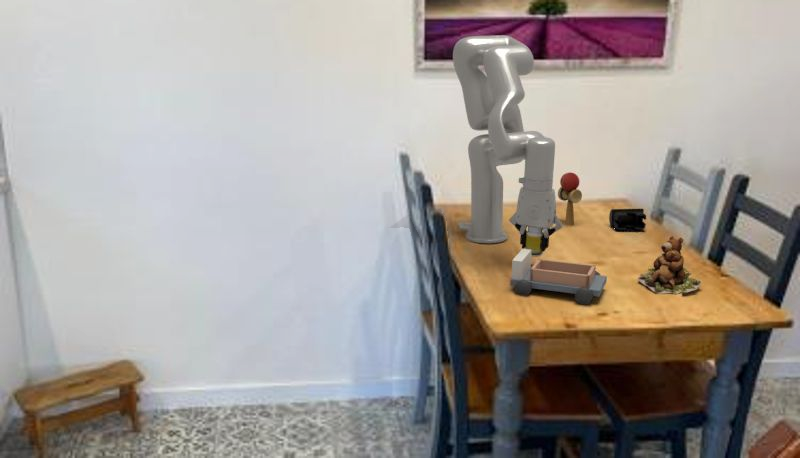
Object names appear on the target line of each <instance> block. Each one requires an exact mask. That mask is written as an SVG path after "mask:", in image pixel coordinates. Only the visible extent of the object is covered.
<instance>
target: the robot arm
mask: <svg viewBox="0 0 800 458" xmlns="http://www.w3.org/2000/svg"><path fill="white" fill-rule="evenodd" d="M534 59H535V58H534V55H533V53H532V51H531V49H530V48H529V47H528V46H527V45H525V44H524V43H523V42H521V41H519V40H517V39H515V38H514V37H511V36H509V35H504V34H502V35H501V34H500V35H499V34H498V35H473V36H467V37H463V38H461V39H459V40H458V41H456V43H455V45H454V47H453V51H452V63H453V68H454V71H455V74H456V76H457V78H458V81H459V83H460V86H461V91H462V97H463V101H464V106H465V113H466V117H467V121H468V125H469V128H471V129H472V130H474V131H478V132H479V131H480V132H483V131H487V132H488V133H486V134H480V135H477V136H475V137H473V138H472V139H471V140H470V141H469V143H468V145H467V146H468V147H467V152H468V153H467V154H468V160H469V164H470V165H469V166H470V179H471V181H470V185H471V187H470V190H471V191H470V192H471V193H470V197H471V198H470V199H471V200H470V201H471V202H470V221H468V222H465V221H458V224H457V227H458V228H459V230H463V231H464V230H465V231H467V232H466V233H465V239H467V240H468V241H470V242H474V243H476V244H477V243H479V244H497V243H498V244H499V243H501V242H504V241H506V240H507V239H508V233H507V231H504V230H503V219H504V216H503V214H504V209H503V208H504V179H503V176H502V175H501V173H500V172H499V171H498V169H497V167H499V166H500V167H501V166H509V165H515V164H520V163H522V161H524V175H523V177H519V178H518V183H519V184H520V183H521V184H522V186H521V188H520V189H519V193H518V198H517V202H516V203H517V204H516V210H515V211H516V212H515V213H514V214H513V215H512V216H511V217H510V218H509V220H508V221H509V223H510V224H512V225H513V226H514V228H515V229H516V230H517V231H518V233H519V235H520V237H519V238H520V240H519V241H520V242H519V243H520V245H521V250H522V249H525V246H526V233H527V231H528V226H530V227H538V228H543V231H542V232H543V233H544V236H543V238H542V248H541V251H543V252H545V251H546V249H548V248H549V247H550V246H549V245H550V236H551V235H553V234H554V233H555V232H558V231H559V230H561V229H562V228H563V227H564V225H563V223H562V222H561V220H560V218H559V217H558V216H557V201H556V192H555V189H554V188H553V185H554V184H553V183H554V170H555V169H554V168H555V155H556V154H555V153H556V142H555V141H554V139H552V138H550V137H546V136H544V135H543V134H542V133H541V132H539V131H537V130H536V131H535V130H529V131H527V130H526V131H525V129H524V123H523V120H522V114H521V110H520V106H519V104H520V103H521V102H522V101H523V100H524V98H525V95H526V92H525V90H524V87H523V84H522V80H521V78H520V77H522V76H527V75H529V74H531V72H532V71H533V69H534V66H535V62H534V61H535V60H534ZM482 66H483V68H484V71H485V73H484V71H482V70H481V68H479V67H482ZM554 224H555V225H554Z"/></svg>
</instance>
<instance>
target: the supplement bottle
mask: <svg viewBox="0 0 800 458" xmlns="http://www.w3.org/2000/svg"><path fill="white" fill-rule="evenodd" d="M526 231H527V233H526V246H525V248H524V249H529V250H532V251H531V258H532V257H533V258H538V257H541V256H543V251H541V248H542V238H543V236H544V232H543V228H538V227H530V226H527V230H526Z"/></svg>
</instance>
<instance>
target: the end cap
mask: <svg viewBox="0 0 800 458" xmlns="http://www.w3.org/2000/svg"><path fill="white" fill-rule="evenodd" d="M608 219H609V221H608V222H609V226H610V228H611V229H613V230H614V231H615V233H638V232H644V233H645V230H644V229H646V226H647V223H646V222H644V221H645V220H647V214H646V213H644V208H611V209H610V212H609V215H608ZM614 228H615V229H614Z"/></svg>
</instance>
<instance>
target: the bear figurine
mask: <svg viewBox="0 0 800 458" xmlns="http://www.w3.org/2000/svg"><path fill="white" fill-rule="evenodd" d="M682 243H684V239H683V238H682V237H679V238H678V239H676V238H675V237H674V236H673V235H671V236H670V237H669V239H668V240H666V242H664V243H662V245H661V247H660V248H661V251H662V252H663V253H661V254H660V255H659V256H657V258H656V259H654V262H653V263H652V264H653V265H652V266H653V268H648V269H647V270H648V271H647V273H641V274H640V275H639V277H638V278H637V280H638V281H639V282H640V283H641V284H642V285H643V286H644V287H648V289H650V290H651V291H652V292H654V294H659V295H661V294H675V295H679V294H685V293H689V292H693V291H696V290H698V287H702V284H701V281H700V279H699V278H694V277H692V276H691V275H692V274H693V273H692V271H690V270H687V268H686V267H684V262H685V259H684V256H683V255H682V252H681V250H682V248H683V245H682ZM690 276H691V277H690Z"/></svg>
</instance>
